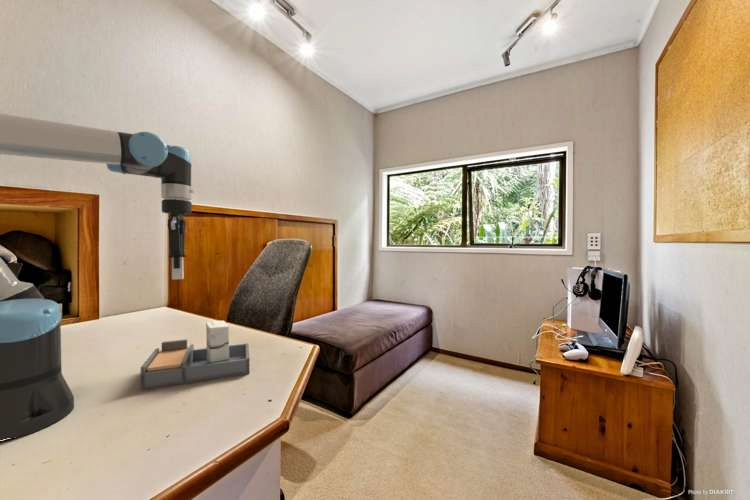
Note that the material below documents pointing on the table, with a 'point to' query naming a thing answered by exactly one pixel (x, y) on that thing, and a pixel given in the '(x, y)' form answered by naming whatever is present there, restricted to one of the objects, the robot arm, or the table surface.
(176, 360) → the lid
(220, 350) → the ink box
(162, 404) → the table surface
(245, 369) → the tray
